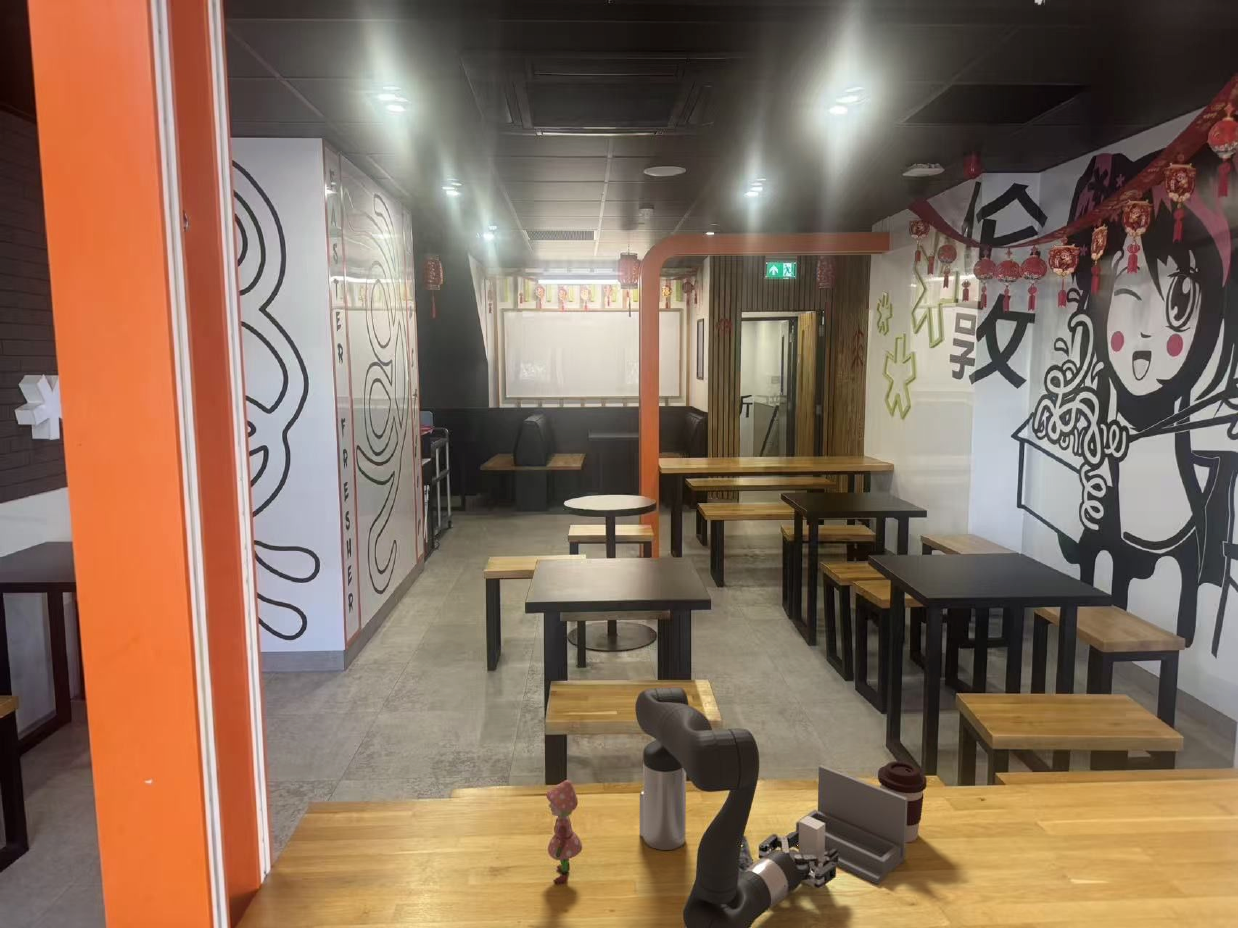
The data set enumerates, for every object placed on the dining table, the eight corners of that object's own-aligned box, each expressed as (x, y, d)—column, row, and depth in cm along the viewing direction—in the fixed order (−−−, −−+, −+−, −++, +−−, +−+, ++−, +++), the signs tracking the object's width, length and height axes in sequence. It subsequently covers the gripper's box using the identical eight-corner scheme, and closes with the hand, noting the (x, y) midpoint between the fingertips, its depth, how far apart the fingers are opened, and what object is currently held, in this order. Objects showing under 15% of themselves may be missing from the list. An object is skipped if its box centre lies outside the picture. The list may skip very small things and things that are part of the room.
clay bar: (797, 878, 155) (799, 821, 154) (805, 872, 157) (807, 815, 156) (815, 887, 152) (817, 829, 151) (823, 881, 154) (825, 823, 153)
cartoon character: (579, 893, 150) (578, 794, 148) (542, 891, 151) (542, 792, 149) (585, 861, 160) (584, 768, 158) (550, 860, 161) (550, 767, 159)
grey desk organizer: (789, 842, 167) (791, 783, 166) (819, 821, 175) (821, 764, 174) (877, 884, 153) (879, 820, 152) (905, 858, 161) (907, 798, 160)
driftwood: (761, 889, 152) (761, 879, 152) (726, 889, 152) (727, 879, 152) (744, 830, 173) (745, 821, 173) (714, 830, 173) (714, 821, 173)
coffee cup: (874, 841, 168) (876, 774, 166) (877, 817, 177) (879, 754, 175) (923, 851, 164) (926, 783, 163) (924, 826, 173) (927, 762, 172)
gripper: (803, 877, 138) (849, 841, 150) (738, 844, 148) (786, 812, 160) (802, 917, 139) (848, 878, 150) (737, 881, 149) (785, 847, 160)
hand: (816, 844), depth 155 cm, fingers open, 8 cm apart
